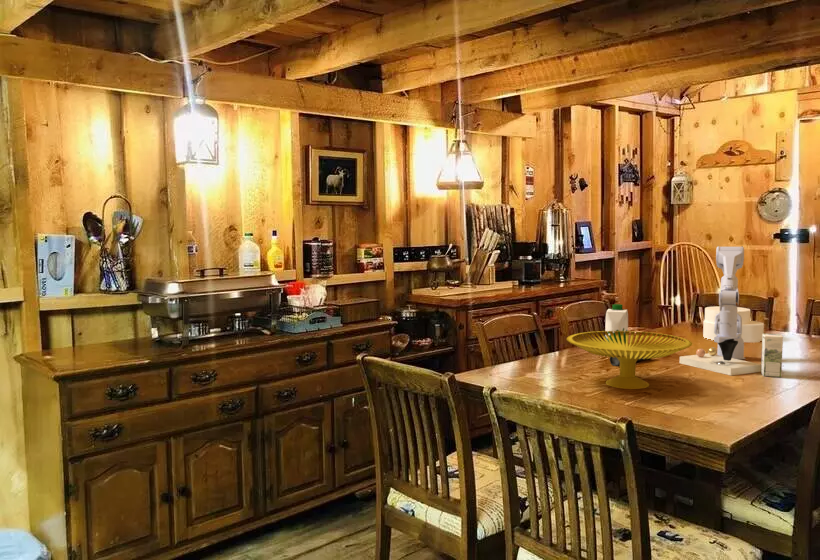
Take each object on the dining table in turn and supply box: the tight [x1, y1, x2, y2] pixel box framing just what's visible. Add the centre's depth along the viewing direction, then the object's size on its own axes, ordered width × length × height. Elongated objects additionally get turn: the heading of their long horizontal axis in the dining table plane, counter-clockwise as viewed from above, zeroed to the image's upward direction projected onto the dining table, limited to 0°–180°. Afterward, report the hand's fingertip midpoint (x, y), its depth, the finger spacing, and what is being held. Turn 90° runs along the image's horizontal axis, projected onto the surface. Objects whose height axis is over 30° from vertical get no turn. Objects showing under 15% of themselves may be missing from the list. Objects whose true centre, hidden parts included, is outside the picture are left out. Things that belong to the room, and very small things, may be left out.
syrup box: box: [760, 333, 784, 378], centre depth 244 cm, size 6×6×14 cm
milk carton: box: [604, 303, 629, 344], centre depth 287 cm, size 9×9×20 cm
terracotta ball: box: [695, 348, 706, 357], centre depth 266 cm, size 3×3×3 cm
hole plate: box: [679, 352, 761, 376], centre depth 259 cm, size 15×24×2 cm, turn 23°
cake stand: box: [566, 330, 693, 390], centre depth 234 cm, size 40×40×15 cm
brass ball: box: [707, 346, 717, 356], centre depth 268 cm, size 3×3×3 cm
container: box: [702, 305, 765, 343], centre depth 319 cm, size 20×25×14 cm
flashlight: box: [609, 357, 651, 367], centre depth 269 cm, size 5×21×5 cm, turn 124°
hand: (727, 360), depth 255 cm, fingers closed
